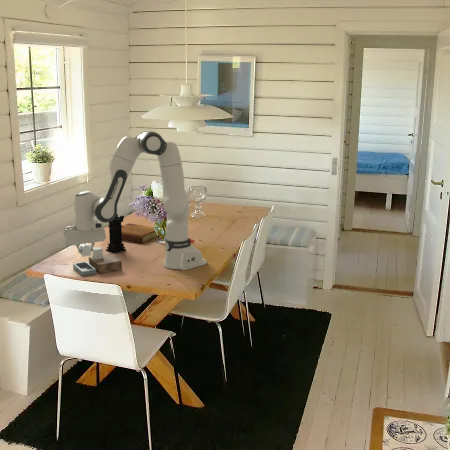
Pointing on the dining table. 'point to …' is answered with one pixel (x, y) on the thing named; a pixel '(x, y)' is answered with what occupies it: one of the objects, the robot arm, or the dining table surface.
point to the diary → (138, 233)
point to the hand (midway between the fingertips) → (85, 251)
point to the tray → (84, 268)
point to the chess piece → (115, 236)
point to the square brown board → (106, 264)
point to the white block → (97, 253)
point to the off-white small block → (85, 249)
